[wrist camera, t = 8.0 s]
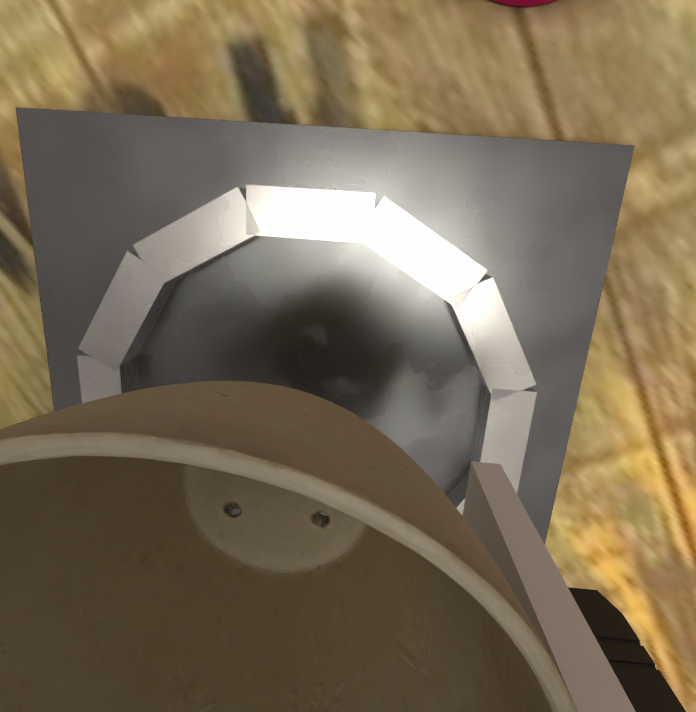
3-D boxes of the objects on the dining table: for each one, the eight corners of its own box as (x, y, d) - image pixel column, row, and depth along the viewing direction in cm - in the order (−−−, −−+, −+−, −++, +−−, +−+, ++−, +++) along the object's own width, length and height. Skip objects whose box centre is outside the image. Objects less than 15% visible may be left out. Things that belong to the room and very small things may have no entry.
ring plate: (91, 581, 21) (60, 620, 19) (37, 114, 15) (-15, 96, 13) (515, 622, 20) (532, 667, 18) (617, 151, 15) (657, 137, 13)
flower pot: (29, 444, 12) (-413, 717, 5) (315, 220, 10) (196, 198, 3) (256, 677, 14) (146, 1102, 7) (535, 527, 12) (751, 919, 5)
